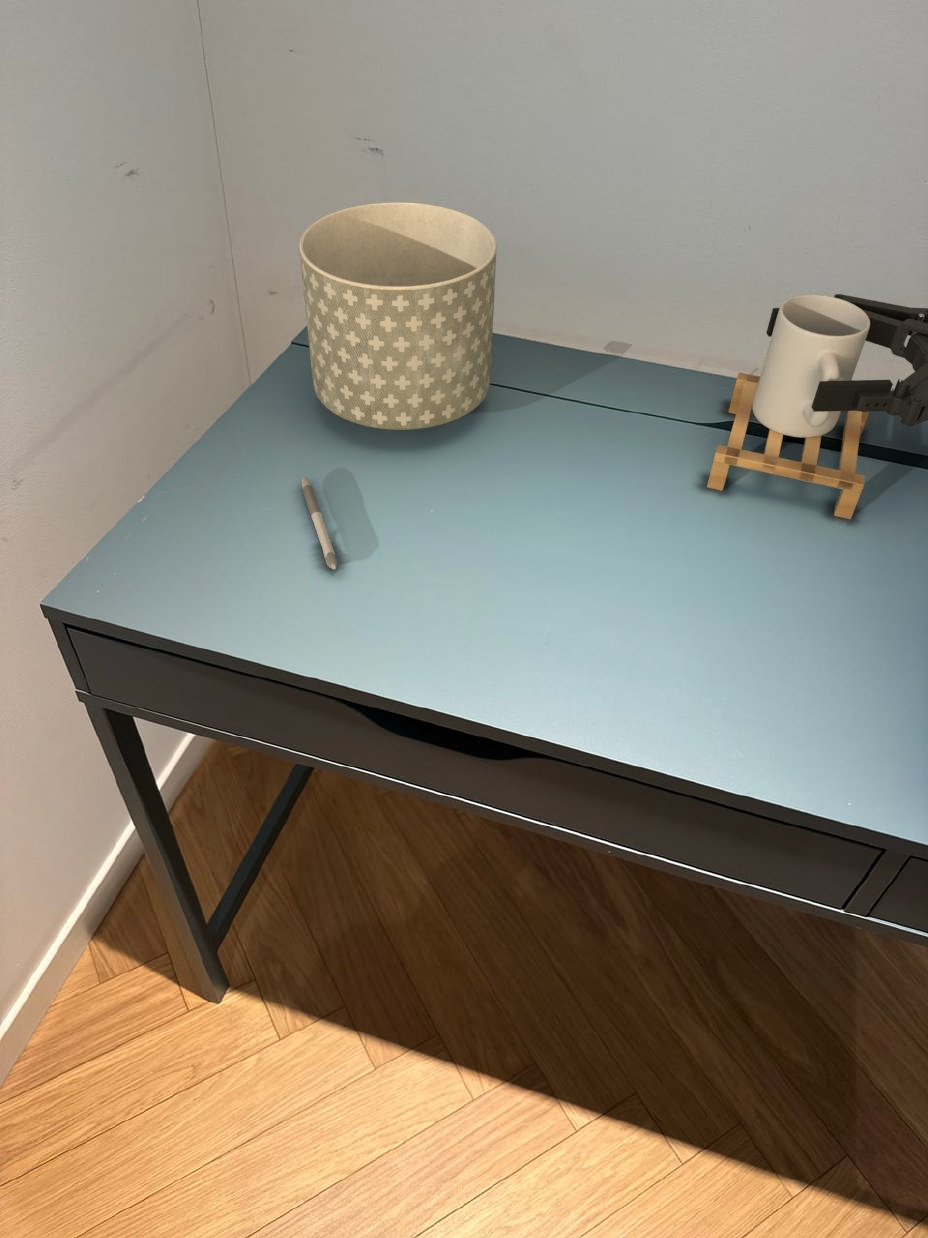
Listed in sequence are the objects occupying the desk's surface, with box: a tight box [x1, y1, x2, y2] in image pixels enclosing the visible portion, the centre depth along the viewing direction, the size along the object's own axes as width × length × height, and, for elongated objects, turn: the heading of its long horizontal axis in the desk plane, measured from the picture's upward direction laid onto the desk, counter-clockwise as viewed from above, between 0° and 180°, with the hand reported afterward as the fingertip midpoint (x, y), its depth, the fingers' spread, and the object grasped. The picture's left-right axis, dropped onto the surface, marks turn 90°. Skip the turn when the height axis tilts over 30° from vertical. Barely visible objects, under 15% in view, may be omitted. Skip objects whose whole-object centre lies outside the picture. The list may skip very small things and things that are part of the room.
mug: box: [752, 294, 870, 439], centre depth 93 cm, size 12×8×11 cm
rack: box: [706, 372, 871, 520], centre depth 99 cm, size 16×14×4 cm
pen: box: [300, 476, 338, 570], centre depth 90 cm, size 1×14×1 cm, turn 18°
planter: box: [298, 201, 498, 431], centre depth 99 cm, size 19×19×18 cm
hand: (792, 357), depth 91 cm, fingers open, 13 cm apart
